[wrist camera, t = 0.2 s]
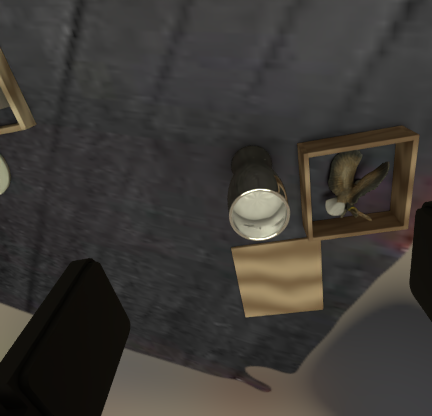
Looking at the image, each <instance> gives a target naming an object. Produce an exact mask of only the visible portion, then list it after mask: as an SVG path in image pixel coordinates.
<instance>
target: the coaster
mask: <svg viewBox="0 0 432 416" xmlns="http://www.w3.org/2000/svg"><path fill="white" fill-rule="evenodd" d="M10 181H11V173H10V169H9V166H8V164H7V162H6V161H5V159H4V158H3V156H2V155H1V154H0V194H2V193H3V192H5V191H6V190H7V188H8V187H9V185H10Z"/></svg>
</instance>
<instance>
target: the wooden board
mask: <svg viewBox="0 0 432 416" xmlns="http://www.w3.org/2000/svg"><path fill="white" fill-rule="evenodd" d="M231 250H232V254H233V259H234V264H235V269H236V273H237V278H238V283H239V288H240V292H241V297H242V302H243V307H244V311H245V316H246V317H253V316H263V315H273V314H283V313H292V312H302V311H312V310H322V309H323V292H322V266H321V240H319V241H311V242H309V240H308V238H307V237H305V238H298V239H290V240H283V241H275V242H267V243H260V244H252V245H245V246H237V247H231Z"/></svg>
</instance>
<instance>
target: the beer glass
mask: <svg viewBox="0 0 432 416" xmlns="http://www.w3.org/2000/svg"><path fill="white" fill-rule="evenodd" d="M231 170H232V173H233V177H232V179H231V181H230V184H229V188H228V196H227V202H228V212H229V220H230V224H231V226H232V228H233V229H234V230H235V232H236V233H237V234H239V235H240V236H242V237H244V238H246V239H249V240H254V241H263V240H268V239H271V238H273V237H275V236H277V235H278V234H280V233H281V232H282V231H283V230H284V229H285V227H286V226H287V224H288V222H289V219H290V208H289V205H288V199H287V194H286V190H285V187H284V185H283V183H282V181H281V179H280V178H279V176H278V175H277V173H276V172H275V171H274V170H273V169H272V160H271V157H270V155H269V153H268V152H267V151H266V150H265V149H263V148H261V147H259V146H246V147H243V148H241V149H240V150H238V151H237V152H236V153H235V155H234V156H233V158H232V162H231Z"/></svg>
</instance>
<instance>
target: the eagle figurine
mask: <svg viewBox="0 0 432 416" xmlns="http://www.w3.org/2000/svg"><path fill="white" fill-rule="evenodd" d="M361 158H362V154H360V151H357V150H352V151H345V152H343V153H342V152H340V153H339V155H336V157H335V158H334V160H333V161H332V164H331V170H330V171H331V173H330V179H329V181H328V185H329V189H330V190H331V191H333V193H335V195H336V196H337V197H335V198H332V199H328V200H327V201H326V204H325V205H326V211H327V212H328V214H330V215H334V216H336V215H341V216H340V217H341V218H343V216H344V214H345V213H346V212H347V210H348V211H350V212H351V213H352V214H353V216H354V217H357V216H358V215H359V216H361V217H364V218H366V219H367V220H369V221H372V219H371V218H370V217H369V216H368V215H365V214H363V213H361V212H359V211H358V210H357V209H356V208H355V207H354V204H355V203H357V202H358V199H359V198H360V197H361V196H363V195H365V194H366V193H367V192H370V191H371V190H374V189H376V187H378V185H379V184H380V183H381V182H382V181H383V179H384V178H385V176H386V175H387V174H388V173H387V172H388V170H389V166H390V165H389V162H385V163H382V164H381V165H380V166H379V167H378V168H376V169H375V170H374V171H372V172H370V173H368V174H367V175H365V176H364V177H363V178H362V179H361V180H357V181H356V182H355V183H353V180H354V175H355V172H356V168H357V166H358V164H359V162H360V160H361Z"/></svg>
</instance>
